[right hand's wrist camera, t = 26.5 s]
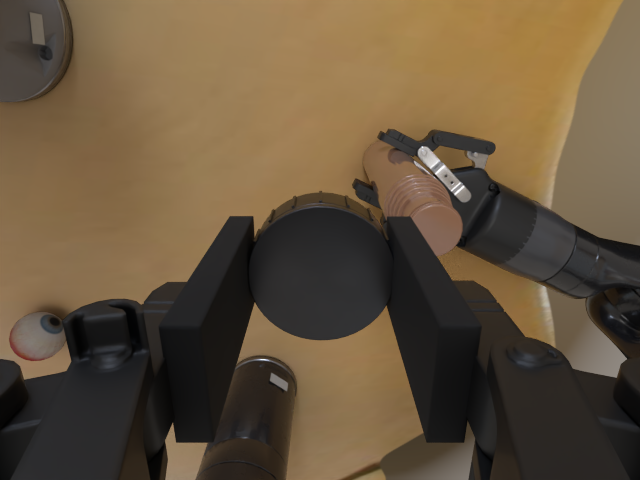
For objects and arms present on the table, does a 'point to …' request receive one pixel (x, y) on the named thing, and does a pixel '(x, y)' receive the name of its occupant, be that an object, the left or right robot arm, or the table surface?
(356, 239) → the cap
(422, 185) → the bottle
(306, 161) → the table surface
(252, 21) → the table surface
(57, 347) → the eyeball
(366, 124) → the table surface
